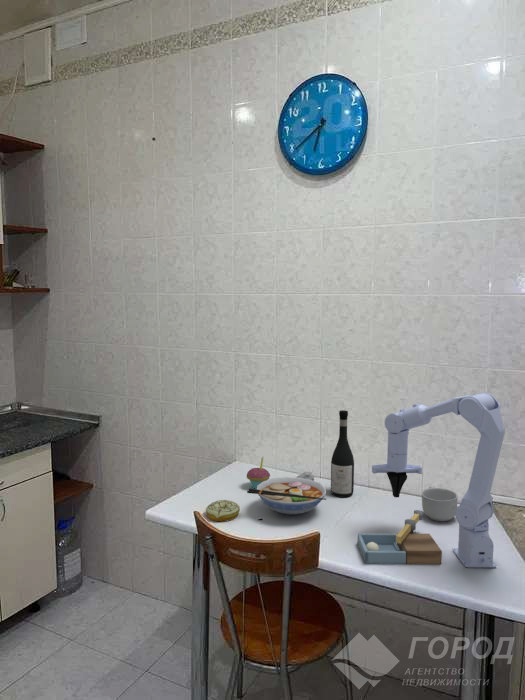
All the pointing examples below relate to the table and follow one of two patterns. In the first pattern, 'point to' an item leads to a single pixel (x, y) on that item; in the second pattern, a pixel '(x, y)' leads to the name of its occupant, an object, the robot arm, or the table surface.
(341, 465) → the wine bottle
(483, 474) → the robot arm
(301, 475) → the frog figurine
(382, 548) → the shallow square tray
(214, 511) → the decorated donut
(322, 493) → the ramen bowl
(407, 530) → the lever
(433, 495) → the teacup
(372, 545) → the ball
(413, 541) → the block
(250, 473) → the cupcake
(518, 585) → the table surface
